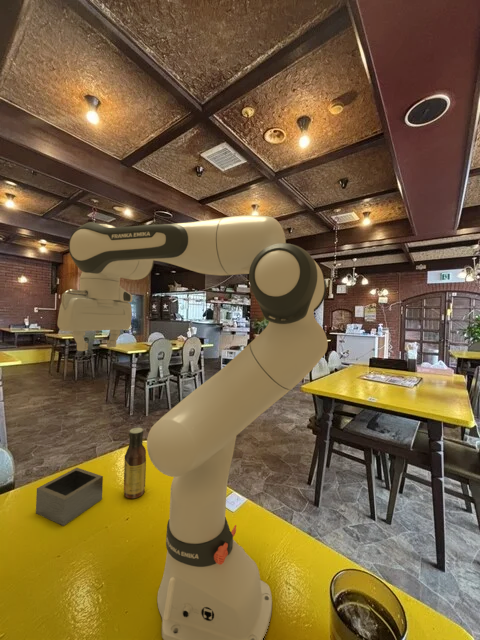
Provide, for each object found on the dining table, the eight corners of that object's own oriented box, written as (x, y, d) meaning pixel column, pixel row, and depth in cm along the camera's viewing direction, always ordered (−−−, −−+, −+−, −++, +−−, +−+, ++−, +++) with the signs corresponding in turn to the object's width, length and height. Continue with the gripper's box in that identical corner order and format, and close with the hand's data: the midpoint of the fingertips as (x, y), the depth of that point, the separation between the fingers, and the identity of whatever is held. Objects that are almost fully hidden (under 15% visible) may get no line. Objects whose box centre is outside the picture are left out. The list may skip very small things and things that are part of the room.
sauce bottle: (128, 486, 90) (131, 424, 90) (148, 488, 89) (150, 425, 89) (119, 499, 83) (121, 433, 83) (139, 501, 83) (142, 434, 83)
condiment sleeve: (101, 499, 83) (102, 476, 83) (63, 526, 72) (64, 499, 72) (76, 489, 87) (76, 467, 87) (35, 513, 76) (36, 488, 76)
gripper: (75, 288, 58) (72, 354, 58) (136, 296, 78) (134, 346, 78) (51, 287, 60) (48, 352, 60) (117, 296, 80) (115, 344, 80)
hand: (97, 348), depth 69 cm, fingers open, 8 cm apart
